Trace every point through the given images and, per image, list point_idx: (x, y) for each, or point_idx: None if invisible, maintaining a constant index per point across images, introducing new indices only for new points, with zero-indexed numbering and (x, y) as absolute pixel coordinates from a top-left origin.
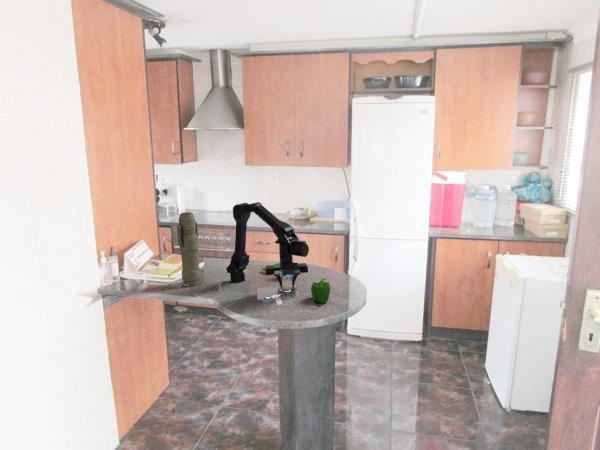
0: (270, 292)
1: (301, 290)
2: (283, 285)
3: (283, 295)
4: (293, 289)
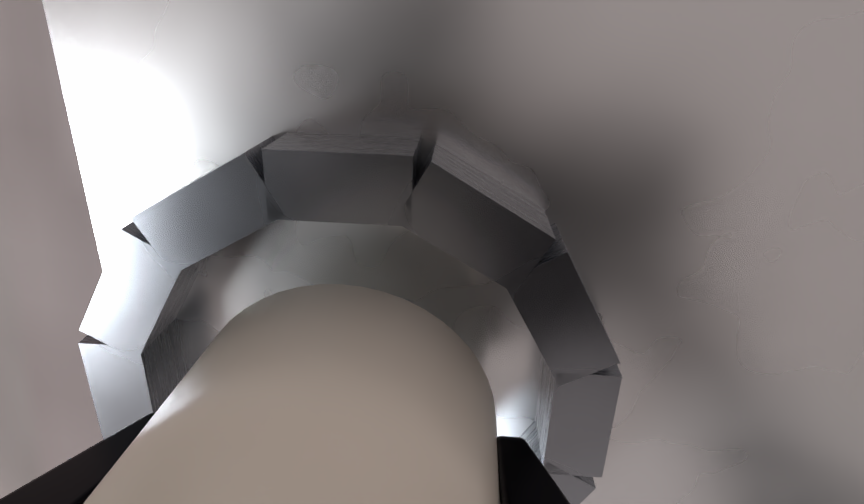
0: (774, 412)
1: (83, 436)
2: (456, 442)
3: (494, 139)
4: None
